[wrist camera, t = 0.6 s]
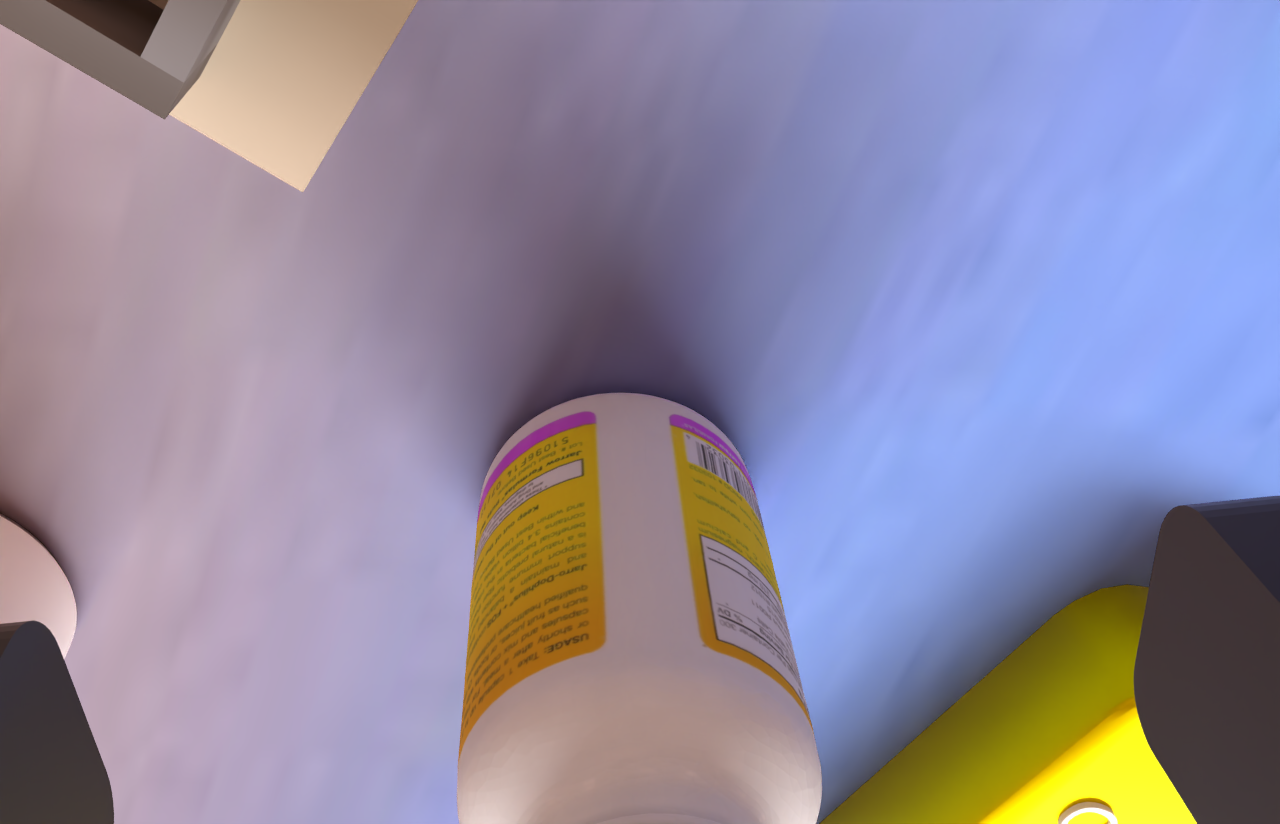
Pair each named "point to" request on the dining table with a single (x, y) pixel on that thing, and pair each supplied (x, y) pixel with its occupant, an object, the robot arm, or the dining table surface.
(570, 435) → the supplement bottle
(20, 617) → the can
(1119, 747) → the element tile
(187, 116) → the button panel
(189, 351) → the dining table surface
